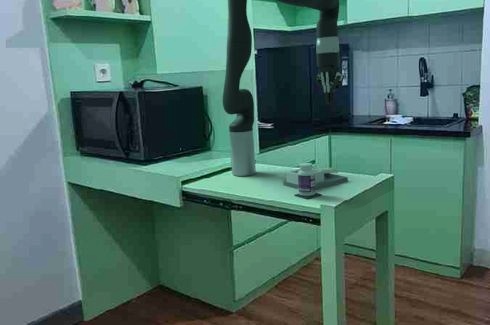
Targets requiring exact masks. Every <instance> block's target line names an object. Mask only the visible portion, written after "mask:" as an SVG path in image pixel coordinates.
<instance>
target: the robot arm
mask: <svg viewBox="0 0 490 325" xmlns="http://www.w3.org/2000/svg"><path fill="white" fill-rule="evenodd" d="M274 1H275V2H279V3H283V4H286V5H289V6H295V7H298V8H299V7H301V8H309V9H312V10H316V11H319V15H318V16H319V18H318V20H317V22H316V26H315V27H316V29H315V30H316V44H315V45H316V47H315V48H316V66H317V67H318V71H317V72H318V74H317V75H316V76H314V77H313V80H314V82H315V84H316V85H317V87H318V89H319V90H320V91H321V92H324V102H325V103H326V104H334V101H335V95H334V94H335V91H338V90H339V88H340V87H341V85H342V83H343V81H344V79H345V75H344V74H341V73H340V69H339V65H340V63H341V61H340V42H339V29H338V28H339V27H338V20H339V13H340V0H274ZM247 3H248V0H227V36H226V58H225V60H226V62H225V63H226V64H225V74H224V75H225V77H224V84H223V92H222V107H223V110H224V111H225V113H226V114H228V115H236V117H235V120H233V121H232V122H231V123H230V124H229V125H228V131H229V141H230V142H229V143H230V152H229V154H230V165H231V174H232V175H233V176H235V177H248V176H252V175H255V174H256V173H257V170H256V168H257V167H256V156H255V155H256V153H255V142H254V141H255V140H254V122H255V104H254V96H253V94H252V93H251V91H250V90H249V89H246V88H240V84H241V78H242V75H243V73H244V71H245V69H246V68H247V65H248V63H249V61H250V58H251V56H252V45H253V36H252V35H253V34H252V30H251V26H250V23H249V20H248V19H249V18H248V13H247V9H248V8H247V6H248V4H247Z"/></svg>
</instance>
